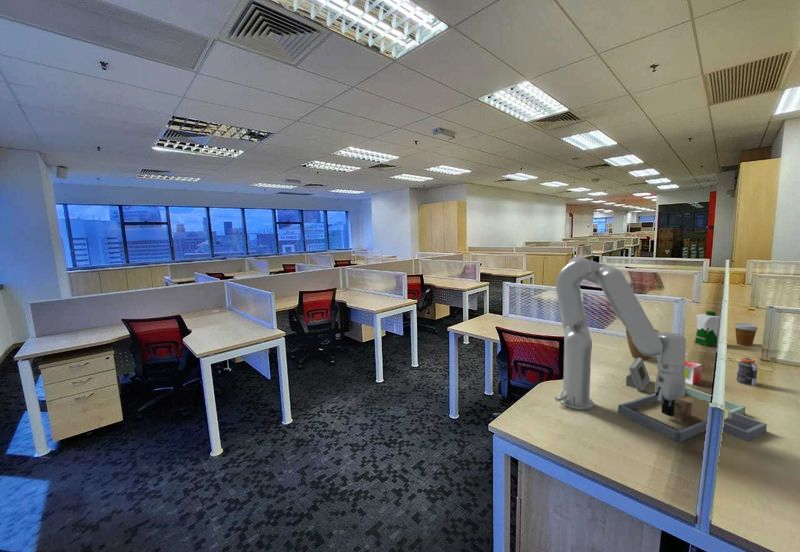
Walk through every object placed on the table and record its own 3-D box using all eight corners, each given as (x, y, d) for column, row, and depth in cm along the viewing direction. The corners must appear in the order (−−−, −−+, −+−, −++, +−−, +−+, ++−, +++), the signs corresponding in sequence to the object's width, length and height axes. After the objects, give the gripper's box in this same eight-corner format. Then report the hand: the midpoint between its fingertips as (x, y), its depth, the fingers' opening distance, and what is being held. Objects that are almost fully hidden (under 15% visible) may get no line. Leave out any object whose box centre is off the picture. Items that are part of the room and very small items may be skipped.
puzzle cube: (671, 378, 150) (672, 362, 149) (679, 374, 153) (680, 359, 152) (692, 385, 143) (694, 368, 142) (700, 380, 146) (702, 364, 145)
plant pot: (664, 363, 167) (666, 333, 165) (633, 362, 170) (634, 333, 168) (647, 353, 182) (648, 325, 180) (618, 352, 184) (620, 325, 182)
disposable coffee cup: (728, 343, 193) (730, 324, 191) (738, 341, 195) (740, 322, 194) (750, 348, 184) (751, 328, 182) (760, 345, 186) (762, 326, 185)
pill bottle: (760, 386, 139) (762, 361, 138) (743, 385, 140) (746, 361, 139) (748, 380, 145) (750, 356, 144) (732, 379, 146) (734, 356, 145)
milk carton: (720, 345, 189) (722, 313, 187) (707, 347, 187) (710, 314, 185) (703, 341, 197) (705, 309, 195) (691, 342, 196) (694, 311, 194)
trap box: (711, 458, 96) (712, 449, 96) (618, 412, 123) (618, 405, 123) (777, 426, 111) (778, 418, 110) (681, 391, 137) (681, 384, 137)
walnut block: (681, 420, 116) (682, 405, 115) (662, 412, 122) (663, 397, 121) (691, 417, 118) (692, 401, 117) (672, 409, 124) (673, 394, 123)
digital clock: (641, 393, 137) (643, 369, 136) (618, 385, 144) (619, 363, 143) (657, 383, 145) (658, 361, 144) (634, 376, 153) (636, 355, 152)
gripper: (669, 374, 109) (666, 424, 111) (695, 367, 115) (692, 414, 117) (645, 366, 116) (643, 413, 118) (671, 360, 122) (668, 405, 124)
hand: (667, 414), depth 118 cm, fingers closed
